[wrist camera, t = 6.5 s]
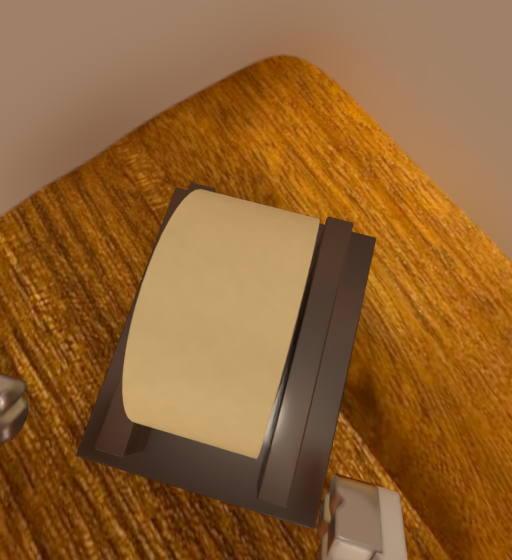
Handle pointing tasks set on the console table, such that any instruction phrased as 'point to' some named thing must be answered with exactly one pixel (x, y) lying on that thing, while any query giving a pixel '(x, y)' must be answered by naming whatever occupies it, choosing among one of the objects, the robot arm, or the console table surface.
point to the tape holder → (287, 408)
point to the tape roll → (217, 320)
